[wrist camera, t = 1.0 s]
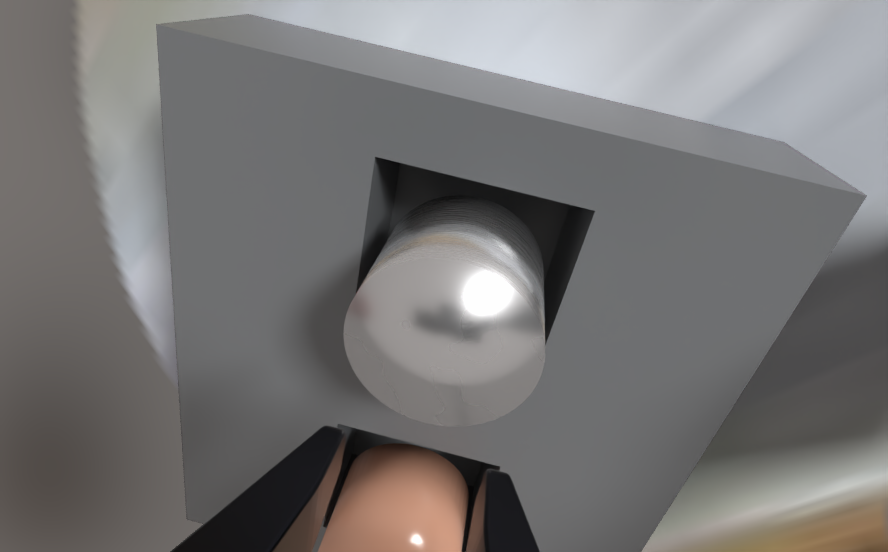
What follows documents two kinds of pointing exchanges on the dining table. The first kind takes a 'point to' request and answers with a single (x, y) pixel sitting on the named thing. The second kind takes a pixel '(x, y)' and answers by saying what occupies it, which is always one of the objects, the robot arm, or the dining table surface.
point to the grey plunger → (451, 314)
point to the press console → (505, 183)
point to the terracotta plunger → (399, 503)
